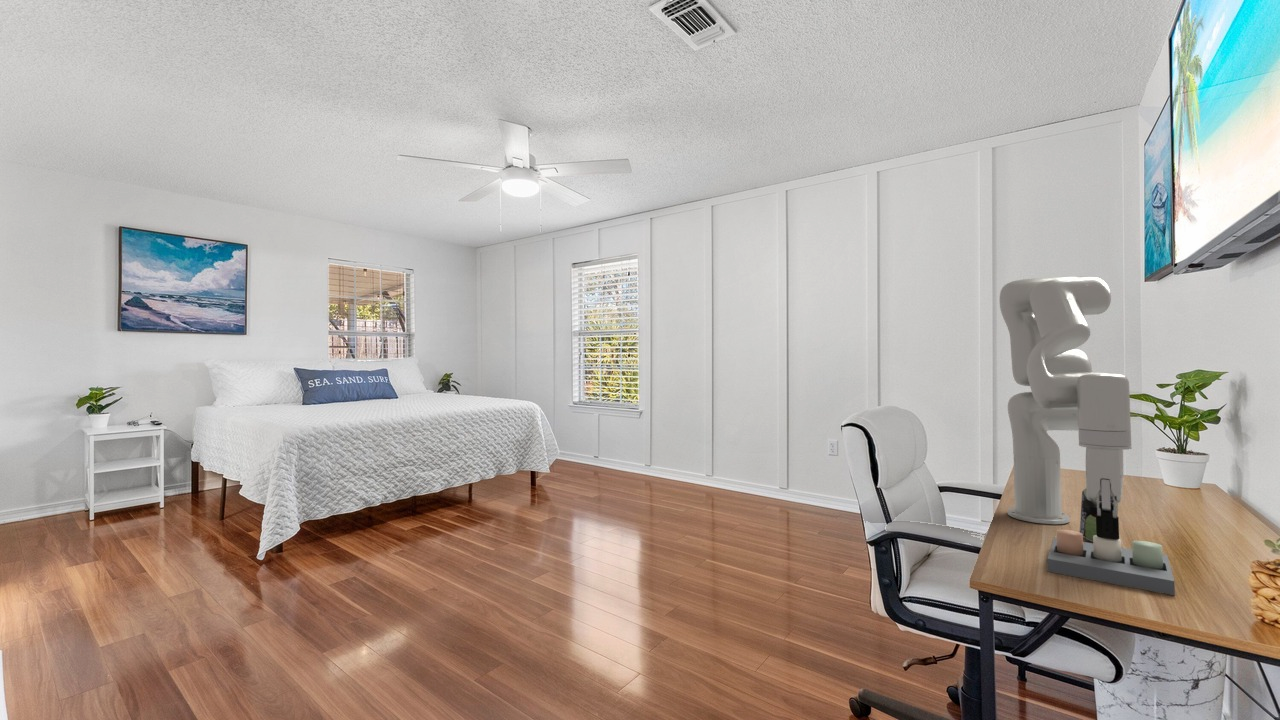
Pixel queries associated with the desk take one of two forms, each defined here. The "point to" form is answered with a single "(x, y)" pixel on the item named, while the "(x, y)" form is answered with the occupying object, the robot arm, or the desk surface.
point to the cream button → (1107, 549)
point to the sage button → (1147, 554)
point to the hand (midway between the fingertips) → (1107, 537)
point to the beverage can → (1089, 516)
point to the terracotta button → (1070, 542)
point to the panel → (1112, 569)
